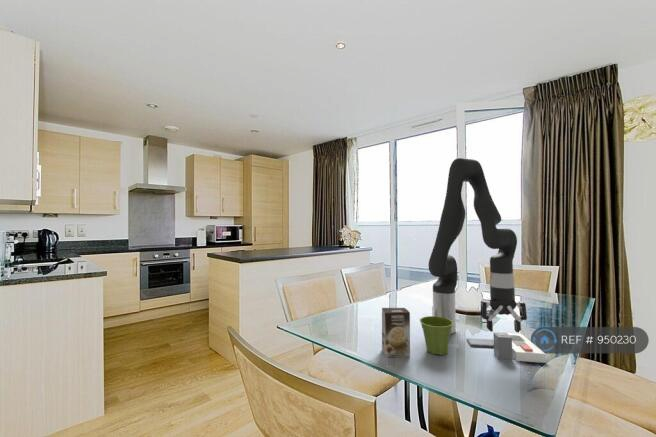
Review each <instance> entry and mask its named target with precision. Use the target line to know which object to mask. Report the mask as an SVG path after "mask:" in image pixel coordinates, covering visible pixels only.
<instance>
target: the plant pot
mask: <svg viewBox="0 0 656 437" xmlns="http://www.w3.org/2000/svg"><path fill="white" fill-rule="evenodd" d="M419 322H420V325H421V328H422V332H423V336H424V340H425V341H424V342H425V347H426V351H427V352H428V353H430V354H432V355H439V356H442V355H443V356H444V355H446V354H448V349H449V341H450V336H451V334H450V331H451V326H452V325H453V321H451V320H450V319H447V318H444V317H438V316H432V315H430V316H429V315H428V316H423V317H421V318H420V319H419Z"/></svg>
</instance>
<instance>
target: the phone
mask: <svg viewBox="0 0 656 437" xmlns="http://www.w3.org/2000/svg"><path fill="white" fill-rule="evenodd" d="M466 342H467V343H468V345H469V347H471V348H472V347H474V348H488V349H489V348H490V349H494V339H487V338H486V339H485V338H468V337H467V338H466Z"/></svg>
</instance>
